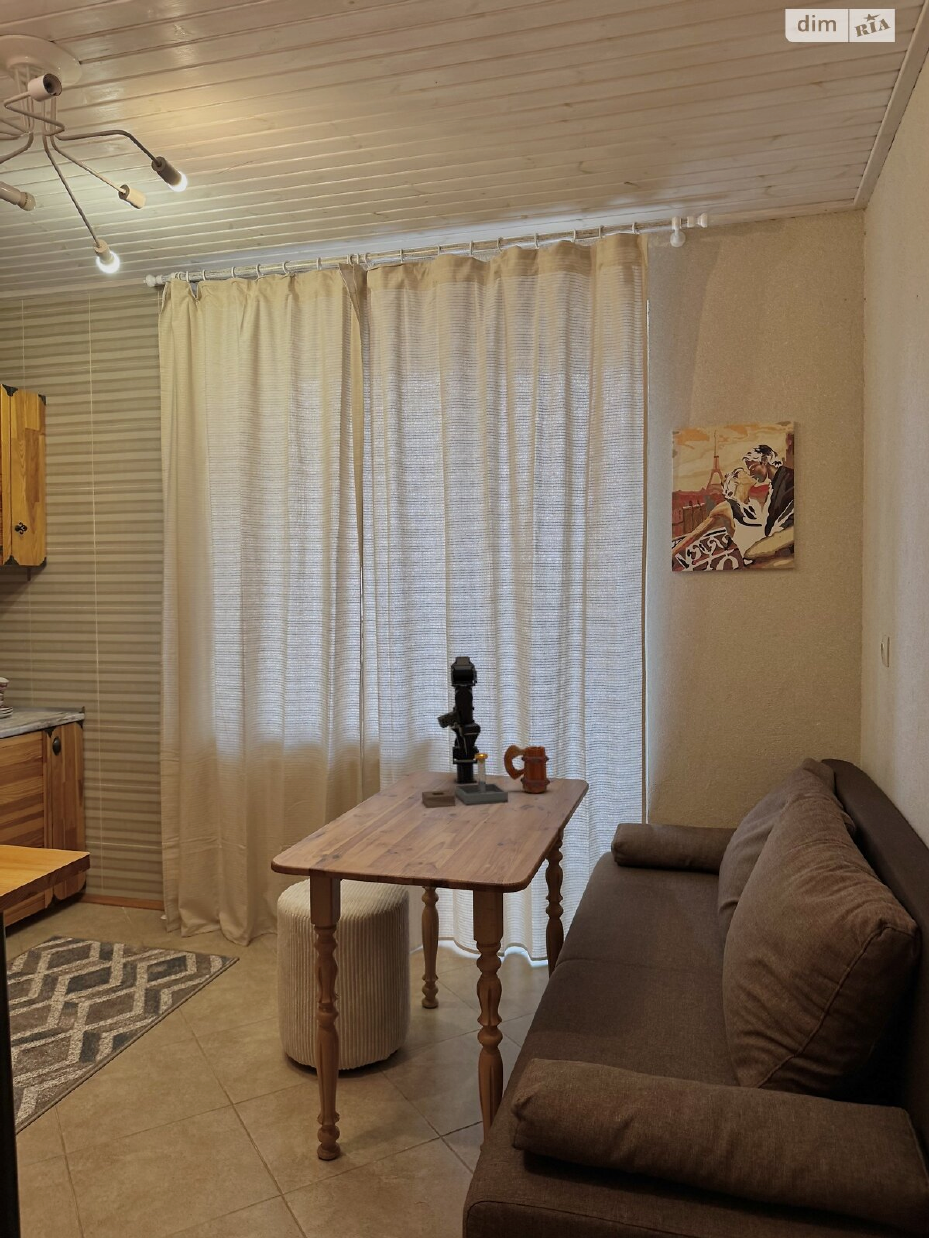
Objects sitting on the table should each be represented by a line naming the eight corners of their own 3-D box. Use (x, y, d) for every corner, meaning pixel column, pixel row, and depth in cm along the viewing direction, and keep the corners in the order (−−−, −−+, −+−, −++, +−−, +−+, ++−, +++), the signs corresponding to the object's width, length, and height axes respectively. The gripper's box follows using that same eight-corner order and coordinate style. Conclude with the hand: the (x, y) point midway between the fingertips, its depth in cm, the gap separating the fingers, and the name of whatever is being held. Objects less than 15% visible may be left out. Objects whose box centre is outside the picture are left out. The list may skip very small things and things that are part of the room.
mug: (550, 788, 294) (549, 742, 294) (550, 794, 286) (549, 746, 285) (505, 788, 295) (504, 742, 295) (503, 794, 287) (502, 747, 287)
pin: (473, 796, 281) (472, 754, 281) (483, 794, 284) (482, 752, 283) (481, 798, 278) (480, 755, 278) (491, 796, 281) (490, 754, 280)
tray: (455, 795, 287) (455, 786, 287) (495, 792, 290) (495, 783, 290) (466, 805, 274) (466, 795, 273) (507, 802, 277) (507, 792, 277)
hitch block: (422, 801, 280) (422, 791, 280) (448, 799, 282) (448, 789, 282) (427, 807, 272) (427, 797, 272) (455, 805, 274) (454, 795, 273)
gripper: (433, 701, 297) (434, 749, 298) (445, 708, 279) (446, 758, 280) (466, 699, 300) (467, 747, 300) (480, 706, 282) (481, 756, 282)
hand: (465, 752), depth 291 cm, fingers open, 9 cm apart
